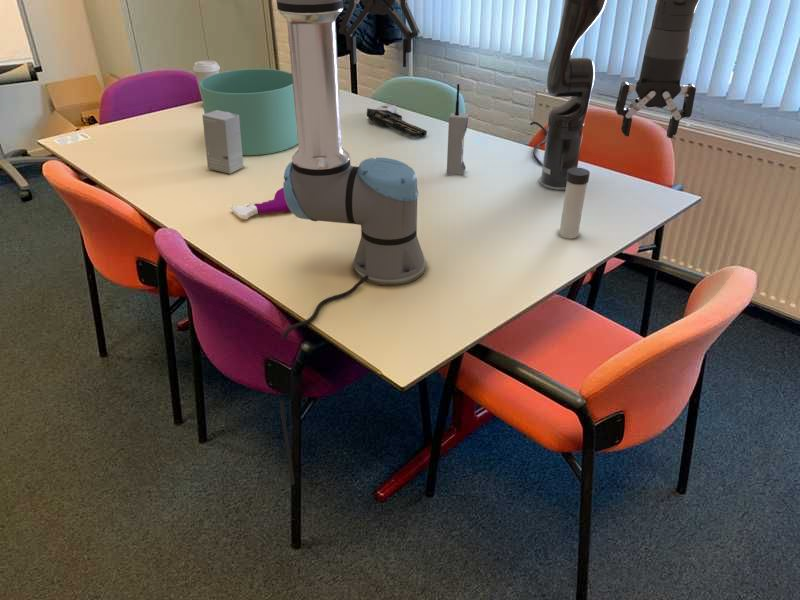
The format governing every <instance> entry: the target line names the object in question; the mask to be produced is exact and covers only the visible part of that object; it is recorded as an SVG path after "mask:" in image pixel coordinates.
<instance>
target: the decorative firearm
mask: <svg viewBox="0 0 800 600" xmlns="http://www.w3.org/2000/svg"><path fill="white" fill-rule="evenodd" d="M397 110H398V107H397V105H393V104H388V103H385V104H382V105H379V106H378V107H376V108H369V107H367V108H366V117H367V118H368V119H369V120H370V121H373V122H374V123H377V124H379V125H382V126H383V127H384V126H389V127H391V128H393V129H395V130H397V131H399V132H401V133H404V134H406V135H408V136H411V137H415V138H416V137H419V138H424V137H426V136H427V132H428V130H426V129H423V128H421V127H420V126H416V125H413V124H411V123H409V122H406V121H405V120H403V115H401V114H399V113H397Z"/></svg>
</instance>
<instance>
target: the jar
mask: <svg viewBox="0 0 800 600" xmlns="http://www.w3.org/2000/svg"><path fill="white" fill-rule="evenodd" d="M587 185H588V183H586V184H573V183H570V182H568V181H567V185H566V190H565V192H564V199H563V205H562V212H561V219H560V224H559V225H560V226H559V236H560V237H562V238H564V239H569V240H571V239H572V240H573V239H576V238H578V237H579V232H580V226H581V219H582V215H583V209H584V202H585V197H586V190H587Z"/></svg>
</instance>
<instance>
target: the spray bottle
mask: <svg viewBox="0 0 800 600" xmlns="http://www.w3.org/2000/svg"><path fill="white" fill-rule="evenodd" d="M229 208H230V210H231V212H232V213H233V214H235V216H237V217H238V218H240V219H243V220H248V219H249V218H250V217H252V216H254V215H257V214H258V215H264V214H274V213H290V212H291V211H290V209H289V208H288V205H287V203H286V199H285V195H284V188H283V187H281V188H279V189H278V190H276V192H275V194H274V197H273V199H271V200H267V201H263V202H261V203H254V204H253V205H251V203H250V202H248V203H247V204H244V205H242V206H240V205H239V206H238V205H237V206H234V205H230V206H229Z"/></svg>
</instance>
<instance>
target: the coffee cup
mask: <svg viewBox="0 0 800 600" xmlns="http://www.w3.org/2000/svg"><path fill="white" fill-rule="evenodd" d="M193 64H194V65H193V66H192V71H193V72H194V74H195V78H196V83H197V87H198V90H199V94H200V98H201V99H202V96H201V90H200V82H201V81H202V80H203V79H204V78H206V77H208V76H211V75H214V74H217V73H220V70H221V67H220V65H219V63H218V62H217V61H215V60H200V61H195V62H194V63H193Z"/></svg>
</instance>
